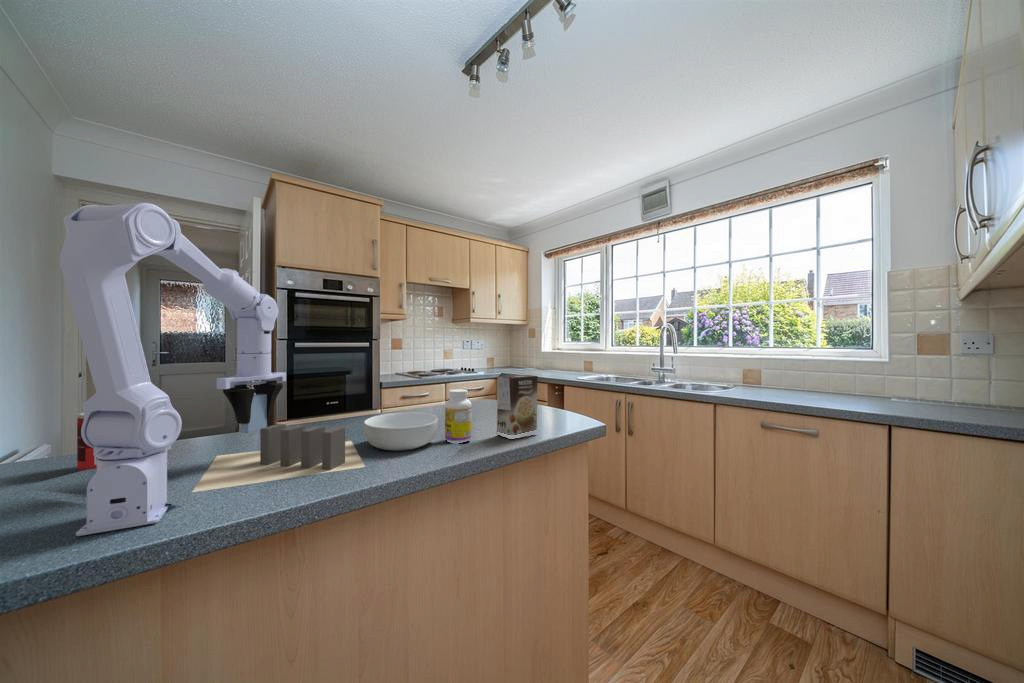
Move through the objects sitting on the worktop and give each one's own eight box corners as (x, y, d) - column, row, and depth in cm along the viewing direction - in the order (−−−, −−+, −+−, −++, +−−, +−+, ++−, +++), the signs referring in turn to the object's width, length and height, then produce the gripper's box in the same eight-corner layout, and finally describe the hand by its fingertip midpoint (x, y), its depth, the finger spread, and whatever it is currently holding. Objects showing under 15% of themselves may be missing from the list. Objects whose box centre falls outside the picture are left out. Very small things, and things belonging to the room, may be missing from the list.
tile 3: (305, 459, 78) (305, 425, 78) (288, 466, 73) (288, 430, 73) (297, 459, 78) (297, 424, 78) (280, 466, 74) (280, 429, 74)
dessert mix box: (511, 440, 97) (511, 377, 97) (496, 435, 102) (496, 375, 102) (537, 435, 103) (538, 375, 103) (522, 430, 108) (522, 374, 108)
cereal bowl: (352, 447, 91) (352, 417, 91) (416, 436, 102) (417, 409, 102) (382, 465, 78) (382, 430, 78) (451, 450, 89) (452, 419, 89)
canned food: (146, 461, 79) (146, 408, 79) (101, 475, 71) (101, 415, 71) (113, 460, 80) (113, 407, 80) (64, 473, 72) (65, 414, 72)
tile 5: (345, 462, 76) (345, 427, 76) (330, 470, 72) (330, 432, 72) (337, 462, 76) (337, 426, 76) (322, 469, 72) (322, 432, 72)
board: (365, 472, 73) (365, 466, 73) (191, 498, 61) (191, 492, 61) (351, 444, 93) (351, 440, 93) (216, 460, 80) (216, 455, 80)
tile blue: (266, 428, 79) (266, 394, 79) (248, 433, 75) (248, 397, 75) (259, 427, 80) (259, 393, 80) (240, 432, 75) (240, 397, 75)
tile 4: (324, 461, 77) (325, 426, 77) (309, 468, 72) (309, 431, 72) (316, 460, 77) (317, 425, 77) (301, 467, 73) (301, 430, 73)
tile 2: (285, 458, 78) (285, 424, 78) (268, 465, 74) (268, 429, 74) (278, 457, 79) (278, 423, 79) (260, 464, 74) (260, 428, 74)
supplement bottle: (443, 438, 99) (443, 389, 99) (468, 437, 101) (468, 388, 101) (446, 445, 92) (447, 392, 92) (473, 443, 94) (474, 391, 94)
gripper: (266, 352, 85) (266, 413, 85) (202, 354, 71) (202, 427, 71) (294, 352, 84) (294, 414, 84) (235, 354, 70) (234, 429, 70)
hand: (254, 420), depth 77 cm, fingers closed on tile blue, 4 cm apart
